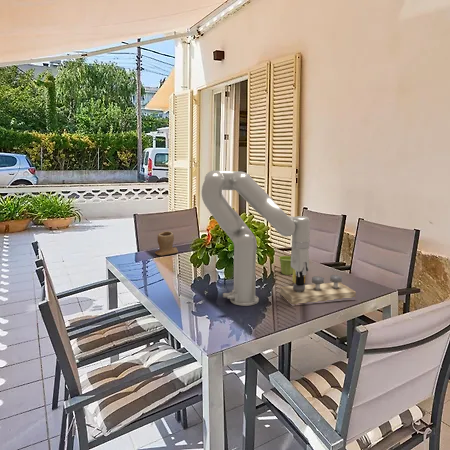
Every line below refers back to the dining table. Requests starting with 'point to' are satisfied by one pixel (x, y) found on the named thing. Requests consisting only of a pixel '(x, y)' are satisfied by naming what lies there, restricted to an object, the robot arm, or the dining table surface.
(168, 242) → the stone cup
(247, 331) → the dining table surface
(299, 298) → the knob mount
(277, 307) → the dining table surface
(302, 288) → the near knob
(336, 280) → the far knob
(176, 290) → the dining table surface
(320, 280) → the middle knob
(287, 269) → the plant pot
